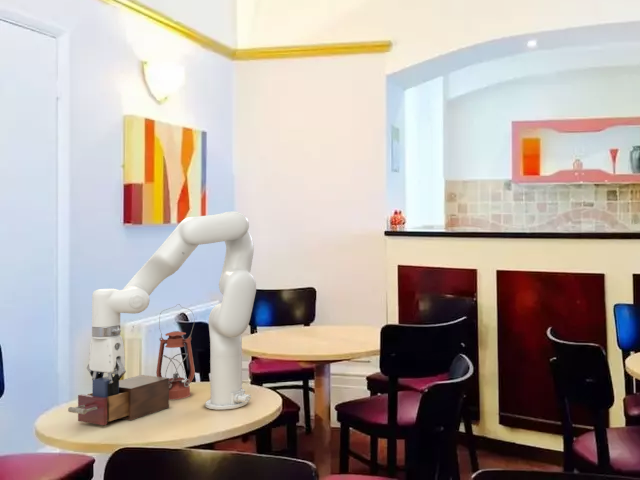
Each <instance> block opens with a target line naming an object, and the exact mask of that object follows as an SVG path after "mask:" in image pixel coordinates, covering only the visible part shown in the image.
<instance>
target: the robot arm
mask: <svg viewBox="0 0 640 480" xmlns="http://www.w3.org/2000/svg"><path fill="white" fill-rule="evenodd" d="M249 228H250V222H249V219H248V218H247V216H246V215H245V214H244V213H243V212H240V211H237V210H235V211H224V212H221V213H216V214H209V215H208V214H207V215H199V216H189V217H185V218H184V219H183V220H181V222H179V224H178V225H177V226H176V227H175V228H174V230H173V231H172V232H171V233H170V234H169V235H168V237H167V238H165V240H164V241H163V242H162V243H161V245H160V246H159V247H158V248H157V249H156V250H155V252H154V253H153V254H152V255H151V256H150V257H149V258H148V260H147V261H146V262H144V263H143V265H142V266H141V267H140V268H139V269H138V270H137V271H136V273H135V274H134V275H133V277H131V279H130V280H129V281H128V282H127V283H126V285H125V286H124V287H123V288H122V289H117V288H99V289H95V290H94V291H92V294H91V295H92V296H91V337H90V342H89V343H90V344H89V352H88V365H87V366H86V370H87V371H88V372H89V375H90V376H91V381H92V382H93V380H95V379H99V378H103V377H104V375H105V373H106V374H107V377H108V378H109V383H108V397H109V396H113V395H116V394H118V382H119V381H120V380H121V378H122V377H123V376H124V375H125V374H126V373H127V370H126V356H125V355H126V353H125V344H124V340H123V336H122V335H121V331H122V330H121V314H132V315H133V314H141V313H143V312H144V311H145V310H147V308H148V307H149V305H150V301H151V300H150V299H151V298H150V295H152V294H153V292H154V291H155V289H156V288H157V287H159V285H160V284H161V283H163V281H165V280H166V279H168V278H169V277H170V276H172V275H173V274H175V273H176V272H177V271H178V270H180V268H181V267H182V266H183V265H184V264H185V262H186V261H187V259H188V258H189V257H190V256H191V255H192V253H193V252H194V251H195V250H196V249H197V248H198V246H199V245H208V244H209V245H210V244H215V243H220V242H221V243H222V242H224V243H225V255H224V261H223V264H222V265H223V266H222V270H221V274H220V278H219V282H218V288H219V292H220V293H221V295H222V299H221V302H220V303H218V304H216V305H214V307H213V308H212V309H211V310H210V313H209V316H208V331H209V342H210V343H209V346H210V347H209V349H210V351H209V352H210V353H209V354H210V358H209V359H210V360H209V363H210V366H209V367H210V369H209V370H210V371H209V372H210V375H209V376H210V377H209V379H210V399H208V400H207V401H205V403H204V405H205V408H207V409H210V410H215V411H216V410H217V411H221V410H222V411H223V410H225V411H226V410H232V409H238V408H242V407H245V406H246V405H247V404H248V403H249V402H250V400H251V398H252V395H251V394H246V389H244V388H243V341H242V339H243V338H242V335H243V333H245V332H246V331H247V329H248V328H249V327H248V326H249V324H250V321H251V317H252V313H253V308H254V302H255V298H256V293H257V282H256V279H255V277H254V276H253V274H252V273H251V271H252V265H253V259H254V250H255V247H254V246H255V245H254V241H253V237H252V234H251V232H250V230H249Z"/></svg>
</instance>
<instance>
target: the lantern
mask: <svg viewBox="0 0 640 480" xmlns="http://www.w3.org/2000/svg"><path fill="white" fill-rule="evenodd" d="M178 305H179V306H180V307H181V308H182V309H184V307H183V306H182V305H181V304H180V303H178V304H176V305H175V306H172V307H169V308H166V309H163V310H162V312H164V311H167V310H170V309H174V308H175V307H177V306H178ZM185 309H186V310H189V311H190V312H191V313H192V315H193V317H195V315H194V313H193V310H191V309H189V308H186V307H185ZM162 312H160V313H159V315H161V314H162ZM193 322H195V318H193ZM160 323H161V317H159V322H158V328H159V332H160V337H159V343H160V344H159V349H158V356H157V357H158V358H157V365H156V370H155V371H156V372H155V373H156V374H155V375H156V377H163V376H162V366H163V360H164V359H163V358H166V359H168V360H170V361H169V362H168V365H167V367H166V370H165V373H168V368H169V366H170V363H172V364H173V366H174V368H175V372H174V373H173V375H172V377H170V378H169V377H168V378H169V401H172V400H181V399H185V398H189V397H190V396H191V395H192V393H191V387H190V386H191V385H190V384H191V383H192V381H193V380H194V377H195V372H196V371H195V364H194V357H193V350H192V344H191V343H192V342H191V341H192V334H193V329H194V326H195V324H192V329H191V331H190V334H189V336H188V337H187V338H184V336H183V335H186V334H187V333H186V332H183V331H180V330H173V331H170V332H167V333H165V334H164V335H165V337H167V339H165V338H163V334H162V330H161V327H160V326H161V325H160ZM183 347H186V352H187V353H178V354H176V355H174V356H173V357H168V356H167V355H165V354H164V352H165V348H168V349H175V348H176V349H177V348H183ZM180 355H185V357H184V358H183V359H182V361H181V362H180V361H179V360H178V359H177V358H175V357H177V356H180ZM186 358H188V365H189V375H188V378H187V374H186V371H185V368H184V366H183V365H182V364H183V362H184V361H185V360H186ZM173 360H174V361H176V362H178V363H179V365H178V366H176V364H175V363H174V361H173ZM180 366H181V368H182V371H183V373H184V377H181V376H180V374H179V372H178V369H179V367H180ZM164 378H167V374H165V377H164Z"/></svg>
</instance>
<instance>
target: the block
mask: <svg viewBox="0 0 640 480" xmlns="http://www.w3.org/2000/svg"><path fill="white" fill-rule="evenodd" d="M108 383H109V378H108V376H103V378H99V379H95V380H93V381H92V389H91V390H92V391H91V393H92V396H98V397H105V398H108ZM118 394H119V382H118Z"/></svg>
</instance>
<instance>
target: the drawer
mask: <svg viewBox="0 0 640 480" xmlns="http://www.w3.org/2000/svg"><path fill="white" fill-rule="evenodd" d="M67 412H68V413H73V414H77V421H78V422H81V423H88V424H93V425H100V426H106V425H108V422H112V421H114V420H118V419H119V418H122V417H125V416H128V415H129V391H124V390H119V394H116V395H113V396H109V397H108V398H105V397H98V396H92V392H90V393H87V394H82V393H80V394H78V395H77V406H75V407H74V406H69V407H68V409H67Z"/></svg>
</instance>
